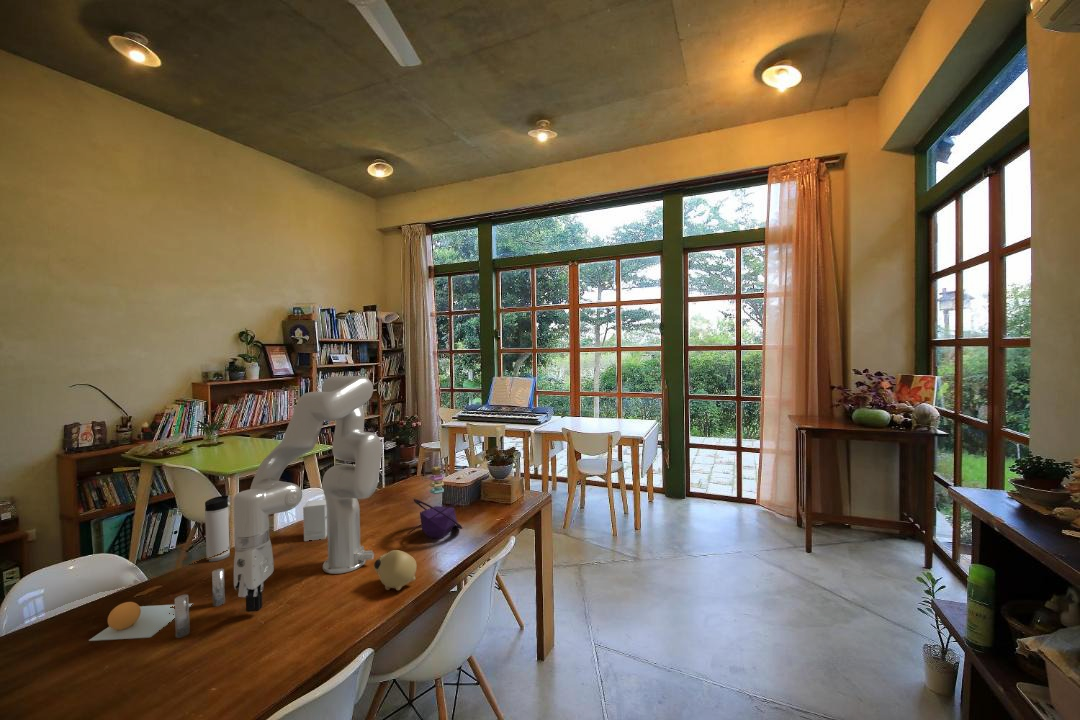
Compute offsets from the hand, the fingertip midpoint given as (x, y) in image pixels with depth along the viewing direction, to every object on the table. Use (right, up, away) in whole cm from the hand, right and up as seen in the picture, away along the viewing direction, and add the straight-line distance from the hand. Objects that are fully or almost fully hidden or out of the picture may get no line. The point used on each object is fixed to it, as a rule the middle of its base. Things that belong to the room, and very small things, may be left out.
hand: (254, 609), depth 113 cm
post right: (-13, -2, +6) cm, 15 cm away
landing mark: (-27, -2, -2) cm, 27 cm away
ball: (-30, +1, -4) cm, 30 cm away
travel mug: (-34, -2, +34) cm, 48 cm away
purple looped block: (+36, 0, +48) cm, 60 cm away
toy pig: (+32, -1, +13) cm, 35 cm away
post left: (-13, -2, -7) cm, 15 cm away
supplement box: (-9, -1, +50) cm, 50 cm away
